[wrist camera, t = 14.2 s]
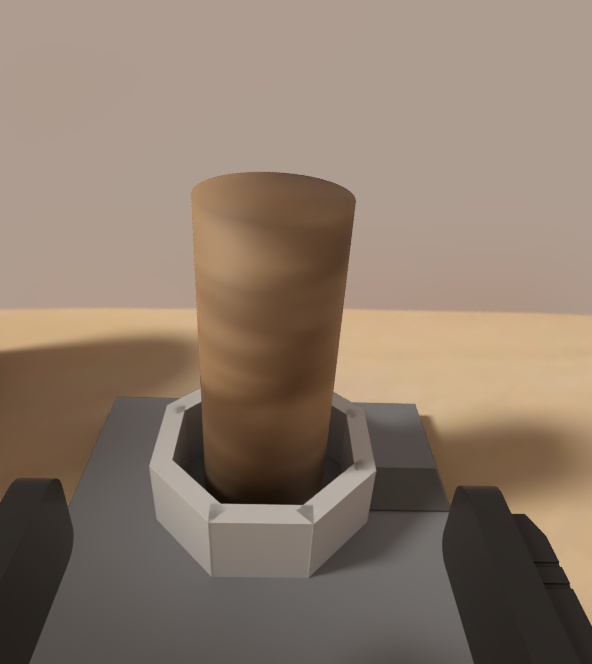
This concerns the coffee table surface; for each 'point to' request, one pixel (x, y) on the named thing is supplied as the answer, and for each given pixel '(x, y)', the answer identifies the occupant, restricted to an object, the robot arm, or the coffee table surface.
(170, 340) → the coffee table surface
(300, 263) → the walnut peg
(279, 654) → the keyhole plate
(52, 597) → the robot arm
